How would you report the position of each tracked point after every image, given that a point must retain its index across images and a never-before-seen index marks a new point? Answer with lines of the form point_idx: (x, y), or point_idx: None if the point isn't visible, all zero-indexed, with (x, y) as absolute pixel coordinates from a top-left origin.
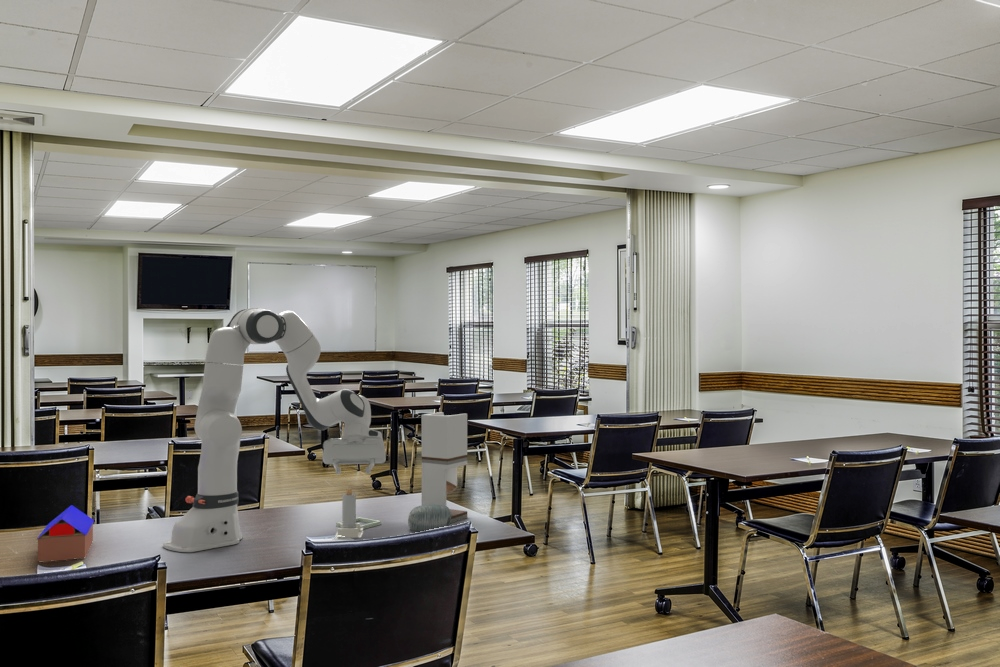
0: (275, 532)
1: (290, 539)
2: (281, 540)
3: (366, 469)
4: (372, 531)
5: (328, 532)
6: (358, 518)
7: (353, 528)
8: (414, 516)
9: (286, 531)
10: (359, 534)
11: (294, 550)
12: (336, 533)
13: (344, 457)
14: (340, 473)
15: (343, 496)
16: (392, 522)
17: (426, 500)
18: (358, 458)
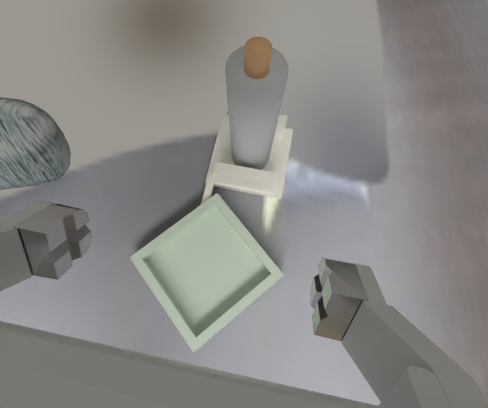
0: (471, 277)
1: (409, 176)
2: (432, 172)
3: (65, 210)
4: (176, 204)
5: (305, 229)
6: (197, 336)
7: None
8: (37, 107)
9: (438, 281)
10: (222, 145)
11: (384, 74)
12: (285, 174)
13: (309, 397)
14: (312, 286)
15: (283, 59)
16: (83, 314)
17: None
18: (46, 332)
